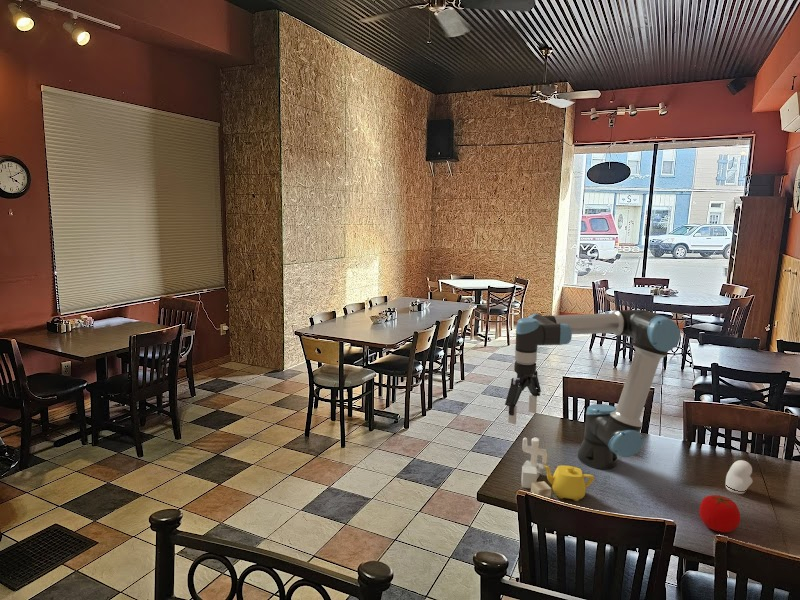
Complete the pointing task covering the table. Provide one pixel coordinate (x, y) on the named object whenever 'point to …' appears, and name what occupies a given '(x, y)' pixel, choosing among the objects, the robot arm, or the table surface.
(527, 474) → the white block
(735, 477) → the white mitten
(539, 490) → the beech block
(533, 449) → the figurine
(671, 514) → the table surface
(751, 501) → the table surface
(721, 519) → the tomato
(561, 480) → the teapot
